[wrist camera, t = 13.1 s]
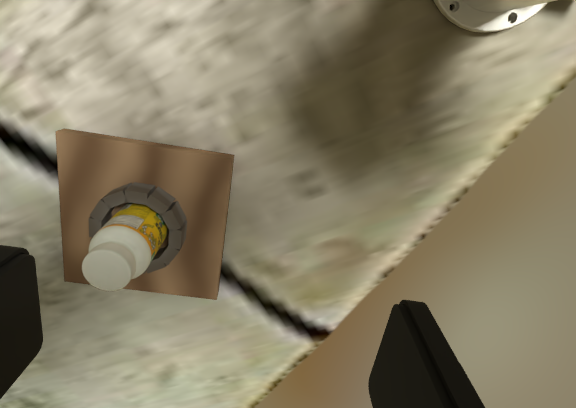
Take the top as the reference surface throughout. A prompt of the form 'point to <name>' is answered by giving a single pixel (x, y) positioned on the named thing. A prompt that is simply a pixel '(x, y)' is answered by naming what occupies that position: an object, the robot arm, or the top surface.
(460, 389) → the robot arm
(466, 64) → the top surface
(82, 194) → the collar board
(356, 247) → the top surface
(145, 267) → the supplement bottle
